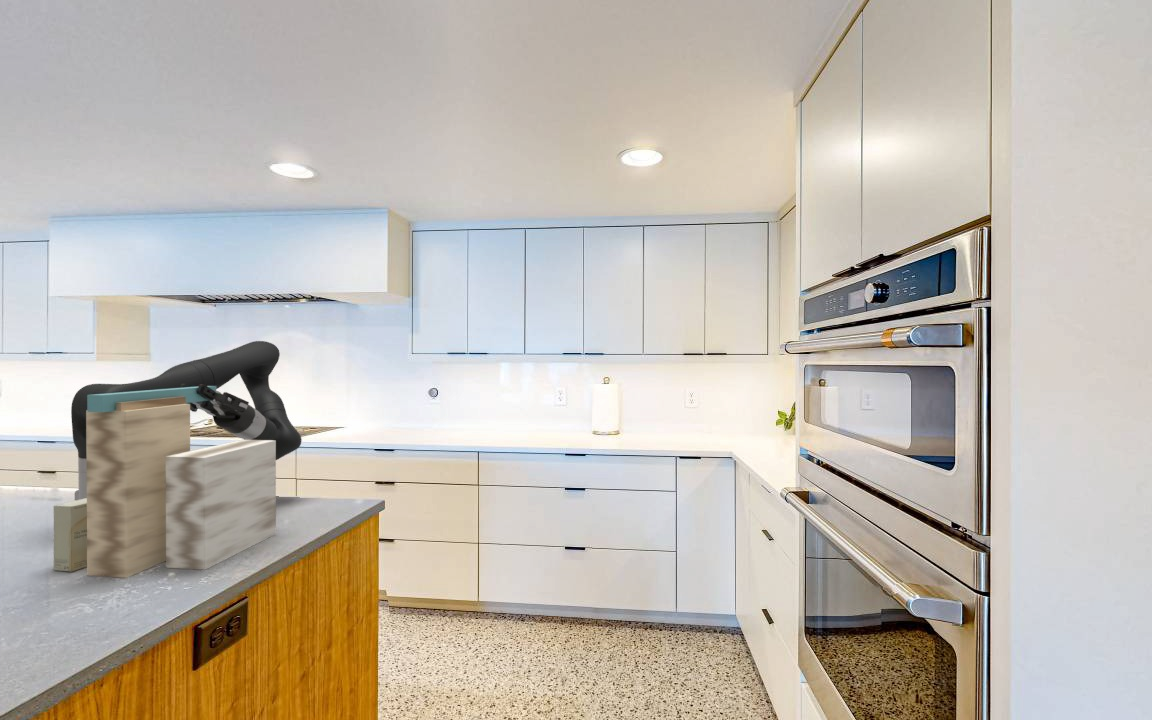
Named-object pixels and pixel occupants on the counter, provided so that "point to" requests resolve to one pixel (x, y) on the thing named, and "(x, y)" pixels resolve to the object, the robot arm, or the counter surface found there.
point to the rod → (140, 397)
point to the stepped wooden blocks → (171, 491)
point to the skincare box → (70, 535)
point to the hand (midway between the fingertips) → (190, 388)
